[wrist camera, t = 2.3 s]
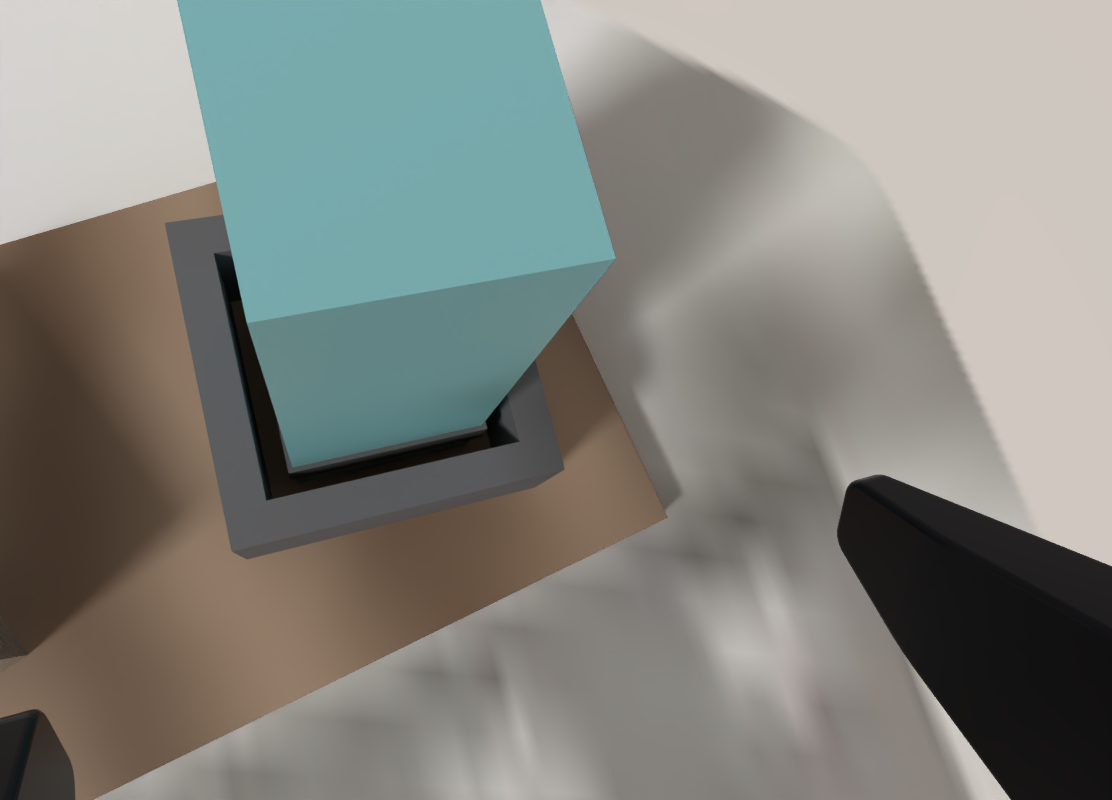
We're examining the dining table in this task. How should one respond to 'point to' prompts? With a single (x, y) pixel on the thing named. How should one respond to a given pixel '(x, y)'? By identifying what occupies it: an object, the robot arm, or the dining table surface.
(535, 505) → the panel board
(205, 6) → the plug
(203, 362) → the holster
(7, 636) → the port
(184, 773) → the dining table surface
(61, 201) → the dining table surface
